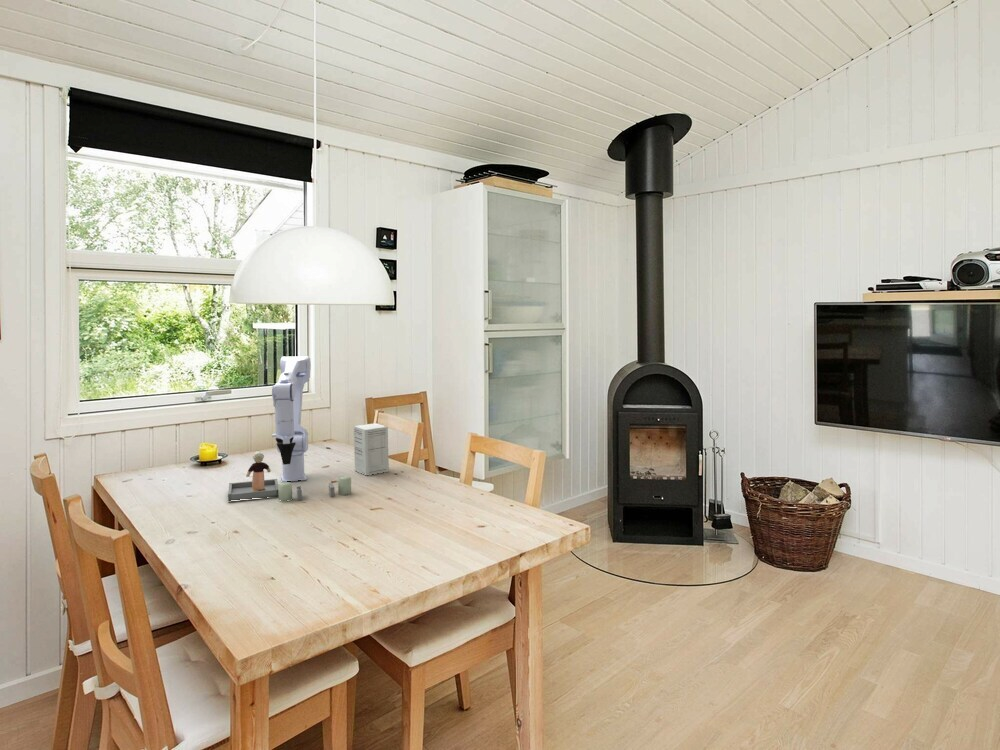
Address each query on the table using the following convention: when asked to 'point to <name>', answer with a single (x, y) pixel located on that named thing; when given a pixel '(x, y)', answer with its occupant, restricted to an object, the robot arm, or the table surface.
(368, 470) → the supplement box
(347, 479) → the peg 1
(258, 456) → the grandmother figurine
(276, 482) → the tray
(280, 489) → the pale green rounded block
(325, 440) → the table surface
